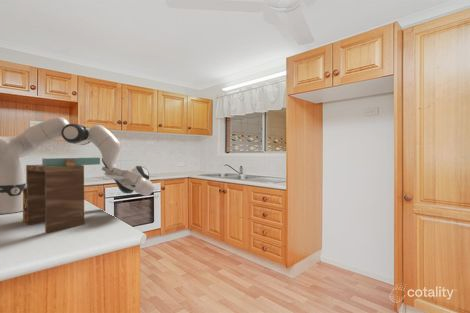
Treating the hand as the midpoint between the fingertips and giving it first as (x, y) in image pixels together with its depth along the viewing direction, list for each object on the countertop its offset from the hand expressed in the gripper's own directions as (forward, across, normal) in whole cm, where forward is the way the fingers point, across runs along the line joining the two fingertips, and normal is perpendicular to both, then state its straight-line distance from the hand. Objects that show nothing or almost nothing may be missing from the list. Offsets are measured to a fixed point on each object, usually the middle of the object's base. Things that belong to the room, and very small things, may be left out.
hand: (108, 168), depth 123 cm
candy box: (+8, -20, +32) cm, 39 cm away
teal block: (+15, 0, +6) cm, 16 cm away
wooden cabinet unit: (+7, -5, +31) cm, 32 cm away
